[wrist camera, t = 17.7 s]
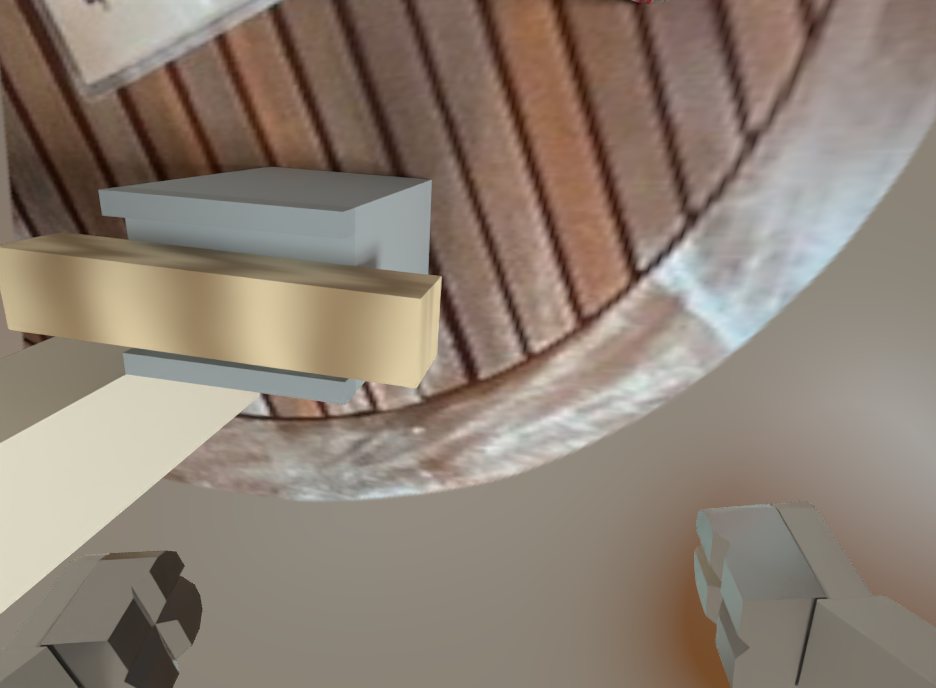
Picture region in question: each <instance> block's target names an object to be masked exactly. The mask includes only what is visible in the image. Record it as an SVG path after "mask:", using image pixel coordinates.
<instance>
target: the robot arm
mask: <svg viewBox="0 0 936 688" xmlns="http://www.w3.org/2000/svg"><path fill="white" fill-rule="evenodd" d="M696 530H697V533H698V535H699V538H700V540H701V544H700V545H699V546H698V547H697V548H696V549H695V553H694V555H695V556H694V569H695V577H696V584H697V589H698V593H699V596H700V600H701V603H702V606H703V609H704V612H705V615H706V616H707V617H708V618H709V619H711V620H712V621H713V622H714V623H715V624H717V633H716V647H717V649H718V652H719V655H720V658H721V660H722V663H723V666H724V669H725V671H726V674H727V677H728V680H729V683H730V685H731V688H936V628H935V627H934V626H932V625H931V624H929V623H927V622H926V621H924V620H923V619H921V618H920V617H918V616H916V615H915V614H913V613H912V612H910V611H908V610H907V609H905V608H904V607H902V606H901V605H899V604H897V603H896V602H894V601H893V600H891V599H890V598H888V597H886V596H873V595H872V593H871V592H870V590H869V589H868V588H867V586H866V584H865V583H864V581H863V580H862V578H861V577H860V575H859V574H858V572H857V570H856V569H855V568H854V566H853V564H852V563H851V561H850V560H849V558H848V557H847V556H846V554H845V552H844V551H843V549H842V548H841V546H840V545H839V543H838V542H837V540H836V538H835V537H834V536H833V534H832V532H831V531H830V529H829V528H828V526H827V525H826V523H825V522H824V520H823V519H822V517H821V516H820V514H819V512H818V511H817V509H816V508H815V506H814V505H812V504H811V503H809V502H808V501H798V502H787V503H774V504H770V505H768V504H761V505H749V506H738V507H726V508H714V509H703V510H699V513H698V515H697V523H696ZM184 567H185V565H184V563H183V562H182V560H181V558H180V557H179V555H178V554H177V552H176V551H147V552H128V553H110V554H95V555H81V556H79V557H78V558H76V559H74V560H73V561H71V562H69V564H68V565H67V567H66V568H65V569H64V570H63V572H62V573H61V574H60V576H59V577H58V578H57V580H56V581H55V582H54V584H53V585H52V586H51V588H50V589H49V590H48V592H47V593H46V594H45V596H44V597H43V598H42V600H41V601H40V602H39V604H38V605H37V606H36V608H35V609H34V610H33V612H32V613H31V614H30V615H29V617H28V618H27V619H26V621H25V622H24V623H23V625H22V626H21V627H20V629H19V630H18V631H17V633H16V634H15V635H14V637H13V638H12V639H11V641H10V642H9V643H8V645H7V646H6V647H5V648H4V649H0V688H173V686H174V684H175V681H176V680H177V678H178V675H179V669H178V665H177V659H178V658H179V657H180V656H181V655H183V654H184V653H185V652H186V651H187V650H188V649H189V648H190V647H191V646H192V645H193V643H194V640H195V638H196V636H197V633H198V631H199V629H200V623H201V616H202V603H201V597H200V594H199V592H198V590H197V588H196V586H195V584H193V583H191V582H190V581H188V580H187V579H185V578H184V577H182V576H181V574H182V571H183V569H184Z"/></svg>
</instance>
